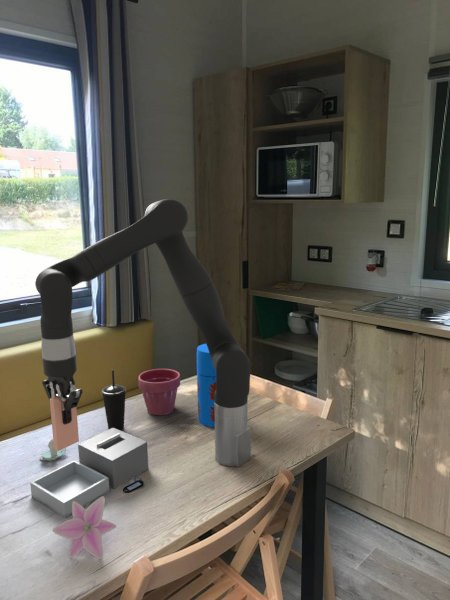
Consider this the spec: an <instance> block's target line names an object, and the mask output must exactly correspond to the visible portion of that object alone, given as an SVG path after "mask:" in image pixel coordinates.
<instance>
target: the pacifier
mask: <svg viewBox="0 0 450 600" xmlns="http://www.w3.org/2000/svg"><path fill="white" fill-rule="evenodd" d="M47 447H48V449H49V450H48V451H45V452H43V453H41V454H40V456H39V460H40V461H48V462H52V461H55V460H57V459H59V458H60V457H62V456H63V455H65V453H66V452H67V447H66V448H64V449H62V450H59V451H57V450H55V449H54V442H53V438H51V439H50V441H49V442H48V444H47Z"/></svg>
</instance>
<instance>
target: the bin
mask: <svg viewBox="0 0 450 600" xmlns="http://www.w3.org/2000/svg"><path fill="white" fill-rule="evenodd" d="M29 484H30V494H31V498H33V499H34V500H36V501H37V502H38V503H39V502H40V503H41V504H43V505H44V506H45V507H47V508H48V509H50V510H51V511H54V512H55V513H56V514H57V515H59V516H61V517H63V518H64V519H67V518H69V517H70V516H73V515H72V502H73V501H75V502H77V503H78V504H80V505H81V506H82V507H83V508H86V507H87V506H88V505H91V504H92V503H93V502H95V501H96V500H97V499H99V498H100V497H102V496H105V495H107V494H108V493H110V487H109V478H108V477H106V476H104V475H102V474H100V473H99V472H97V471H95V470H93V469H91V468H89V467H87V466H85V465H83V464H81V463H80V462H79V461H77V460H75V459H74V460H72V461H70V462H68V463H66V464H64V465H62V466H60V467H59V468H56V469H55V470H52V471H51V472H48V473H46V474H44V475H42V476H40V477H38V478H36V479H34V480H32V481H30V483H29Z"/></svg>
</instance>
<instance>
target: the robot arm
mask: <svg viewBox="0 0 450 600" xmlns="http://www.w3.org/2000/svg"><path fill="white" fill-rule="evenodd" d="M188 215H189V214H188V211H187V209H186V207H185V205H183V204H182V203H181V202H180V201H179V200H175V199H171V198H166V199H165V198H164V199H161V200H156V201H155V202H153V203H151V204H149V205H148V206H147V207H146V210H145V212H144V215H143V217H141V218H140V219H139V220H137V221H136V222H134V223H133V224H131V225H130V226H128V227H126V228H124V229H121V230H120V231H117V232H115V233H113V234H111V235H109V236H106V237H105V238H102V239H100V240H98V241H97V242H95V243H93V244H91V245H89V246H88V247H86V248H84V249H82V250H81V251H78V252H77V253H76V254H75V255H73V256H71V257H69V258H65V259H64V260H61V261H59V262H57V263H55V264H52V265H50V266H48V267H46V268H44V270H42V271H41V272H40V273H38V274H37V277H36V279H35V282H34V283H35V288H36V291H37V292H38V293H39V295H40V303H41V305H40V306H41V315H40V330H41V333H40V334H41V346H40V347H41V359H42V366H43V367H42V368H43V375H44V376H45V377H47V379H44V380H42V382H41V384H42V386H43V388H44V390H45V393H46V395H47V398H48V400H49V402H50V399H51V398H54V397H56V396H58V399H59V401H60V402H61V409H62V420H63V424H65V425H66V424H68V423H70V422H71V421H72V414H71V409H72V408H74V407H76V408H77V407H78V405H79V402H80V399H81V397H82V395H83V390H82V388H77V387H76V381H75V379H74V375H75V374H76V373H77V370H78V364H77V353H76V351H77V350H76V341H75V338H74V337H75V336H74V328H73V318H72V312H73V311H72V310H73V287H75V286H77V285H79V284H80V283H83V282H84V283H85V282H87V283H88V282H90V281H92V280H94V279H97V278H98V277H100V276H101V275H103V274H105V273H106V272H108V271H109V270H111V269H113V268H114V267H116V266H117V265H119V264H120V263H122V262H124V261H125V260H127V259H128V258H130V257H132V256H133V255H135V254H136V253H139V252H140V251H142V250H143V249H145V248H148V247H150V246H151V245H154V244H155V245H156V246H157V248H158V250H159V251H160V253H161V255H162V257H163V259H164V261H165V263H166V265H167V268H168V270H169V273H170V275H171V278H172V280H173V282H174V284H175V286H176V289H177V290H178V293H179V296H180V299H181V300H182V302H183V304H184V306H185V308H186V310H187V312H188V314H189V316H190V317H191V318H192V320H193V323H195V325H196V326H197V328H198V329H199V331H200V332H201V334H202V337H203V339H204V342H205V344H207V347H208V350H209V353H210V356H211V360H212V363H213V366H214V368H215V370H216V391H215V393H214V408H215V427H214V450H215V451H214V455H215V456H214V457H215V458H214V459H215V461H216V462H217V463H218V464H220V465H223V466H226V467H227V466H229V467H236V468H239V467H240V466H242V465H243V464H244V463H246V462H247V461H249V460H250V459H251V457H252V456H251V450H252V449H251V448H252V447H251V446H252V445H251V444H252V443H251V442H252V439H251V437H252V436H251V434H252V433H251V432H252V431H251V429H252V428H251V427H250V426H248V421H249V418H248V417H249V416H248V412H249V411H248V408H249V407H248V404H249V403H248V401H249V400H248V399H249V397H248V396H249V394H250V387H251V386H250V385H251V363H250V358H249V356H248V354H247V353H246V352H245V351H244V350H243V348H242V347H241V345H240V344H239V343H238V341H237V340H236V338H235V336H234V335H233V333H232V332H231V330H230V328H229V326H228V324H227V321H226V317H225V313H224V309H223V305H222V302H221V298H220V296H219V293H218V290H217V288H216V286H215V284H214V281H213V279H212V277H211V276H210V274H209V271H208V270H207V269H206V268H205V266H204V265H203V264H202V262H200V260H199V259H198V258H197V256H196V254H194V252H193V251H192V250H191V248H190V246H189V245H188V243H187V241H186V238H185V236H184V233H183V231H184V229H185V228H186V226H187V224H188V221H189V220H188V219H189V216H188ZM67 400H68V401H67ZM65 401H67V403H66V404H65Z"/></svg>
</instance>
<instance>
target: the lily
mask: <svg viewBox="0 0 450 600" xmlns="http://www.w3.org/2000/svg"><path fill="white" fill-rule="evenodd" d="M105 500H106V499H105V495H103V496H102V497H100V498H98V499H97V500H95V501H93V502H92V503H90V504H89V506H88V507H87V508H85V507H82V506H81V505H80V504H78V503H77V502H75V501H73V502H72V515H71V516H72V518H70V519H68V520H66V521H63V522H61V523H60V524H58V525H56V526H55V527H53V529H52V532H53V533H54V534H55V535H58V536H59V537H62V538H65V539H67V540H71V542H70V546H69V551H68V552H69V554H68V555H69V556H68V557H69V559H72V558H73V557H75V556H77V554H78V553H80V552H81V551H82V550H83V549H85V550H86V551H87V552H88V553H89V554H91V556H93V557H94V558H96V559H98V560H102V559H103V557H104V553H103V537H102V536H103V535H105V534H107V533H110V532H112V531H113V530H114V529H116V528H118V527H117V524H115V523H113V522H112V521H108V520H106V519H103V516H104V510H105V509H104V508H105V503H106V501H105Z"/></svg>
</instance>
